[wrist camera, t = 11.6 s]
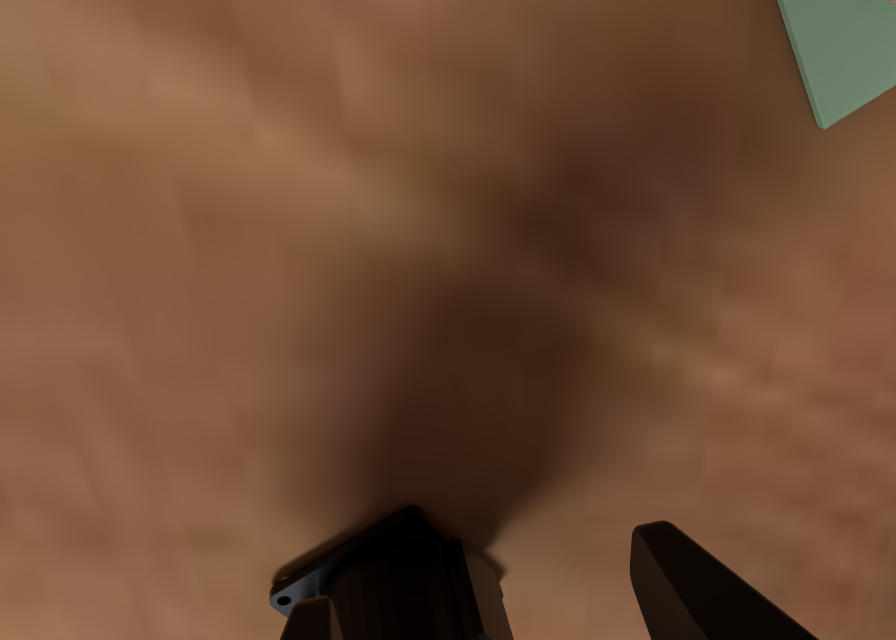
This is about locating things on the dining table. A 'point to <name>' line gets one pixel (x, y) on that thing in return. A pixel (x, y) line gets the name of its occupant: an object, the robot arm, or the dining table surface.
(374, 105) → the dining table surface
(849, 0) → the felt pad
